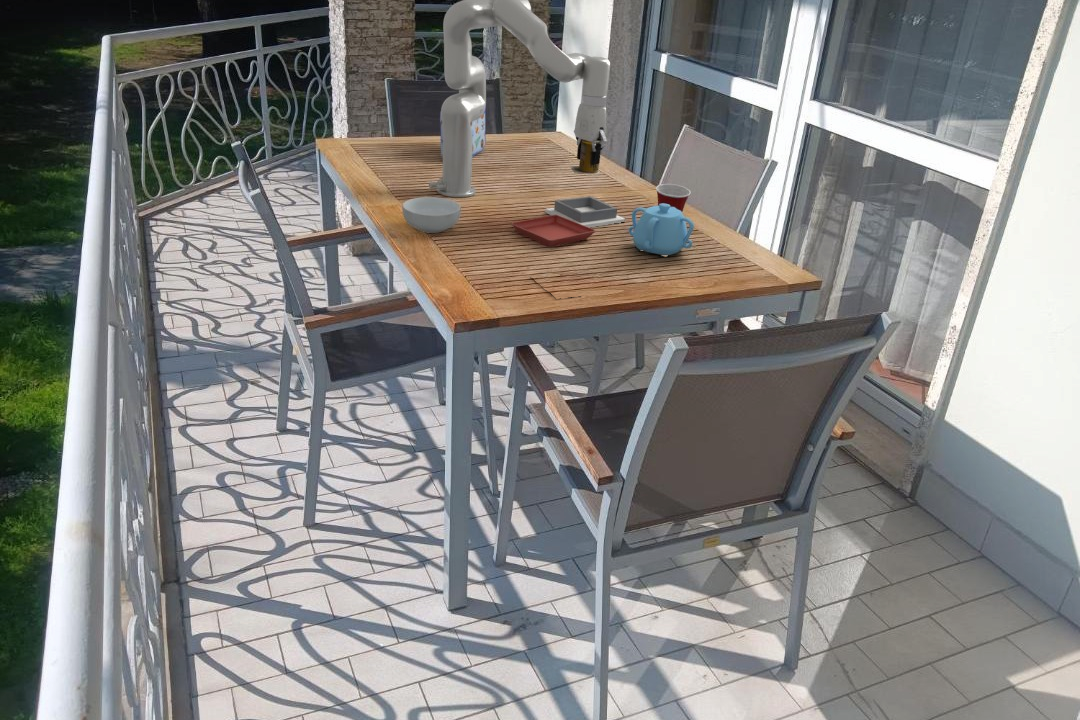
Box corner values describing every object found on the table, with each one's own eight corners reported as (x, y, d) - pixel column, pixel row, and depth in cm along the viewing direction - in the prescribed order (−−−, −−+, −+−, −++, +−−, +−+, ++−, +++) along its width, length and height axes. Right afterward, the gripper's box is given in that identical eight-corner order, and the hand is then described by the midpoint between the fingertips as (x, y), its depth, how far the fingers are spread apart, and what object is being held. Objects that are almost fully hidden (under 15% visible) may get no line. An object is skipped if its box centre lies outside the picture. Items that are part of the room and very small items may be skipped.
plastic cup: (656, 231, 265) (661, 193, 259) (646, 220, 274) (651, 183, 269) (690, 232, 267) (696, 194, 261) (679, 221, 276) (684, 184, 271)
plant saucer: (509, 233, 254) (510, 222, 253) (555, 224, 265) (556, 213, 264) (549, 251, 242) (550, 240, 241) (595, 241, 253) (596, 230, 252)
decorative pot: (693, 260, 243) (701, 214, 237) (638, 259, 241) (645, 212, 235) (676, 241, 258) (683, 197, 252) (624, 240, 255) (630, 195, 249)
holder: (578, 229, 261) (580, 216, 259) (545, 212, 274) (546, 199, 272) (624, 222, 270) (626, 209, 268) (590, 206, 283) (591, 193, 281)
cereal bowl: (396, 220, 256) (396, 197, 252) (450, 218, 261) (451, 195, 258) (410, 239, 242) (410, 215, 238) (467, 236, 247) (468, 212, 244)
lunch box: (461, 166, 317) (463, 104, 307) (435, 162, 320) (436, 101, 310) (488, 151, 341) (490, 93, 331) (463, 147, 343) (465, 90, 333)
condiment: (601, 174, 263) (605, 134, 258) (574, 173, 262) (578, 133, 257) (596, 168, 270) (600, 129, 264) (570, 167, 268) (573, 128, 263)
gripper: (566, 96, 260) (561, 155, 269) (601, 107, 248) (595, 169, 256) (586, 95, 264) (581, 153, 272) (621, 106, 252) (615, 167, 260)
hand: (588, 160), depth 264 cm, fingers closed on condiment, 6 cm apart
